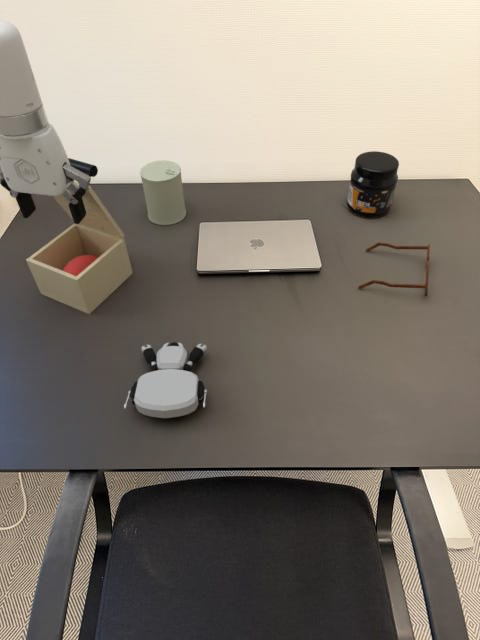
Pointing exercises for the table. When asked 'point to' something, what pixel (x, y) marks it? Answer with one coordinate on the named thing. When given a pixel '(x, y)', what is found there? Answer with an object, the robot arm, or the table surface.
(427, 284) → the glasses
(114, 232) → the box lid
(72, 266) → the stress ball
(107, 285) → the open box
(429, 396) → the table surface
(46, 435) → the table surface
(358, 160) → the supplement container
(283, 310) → the table surface
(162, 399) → the robot toy
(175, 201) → the can
